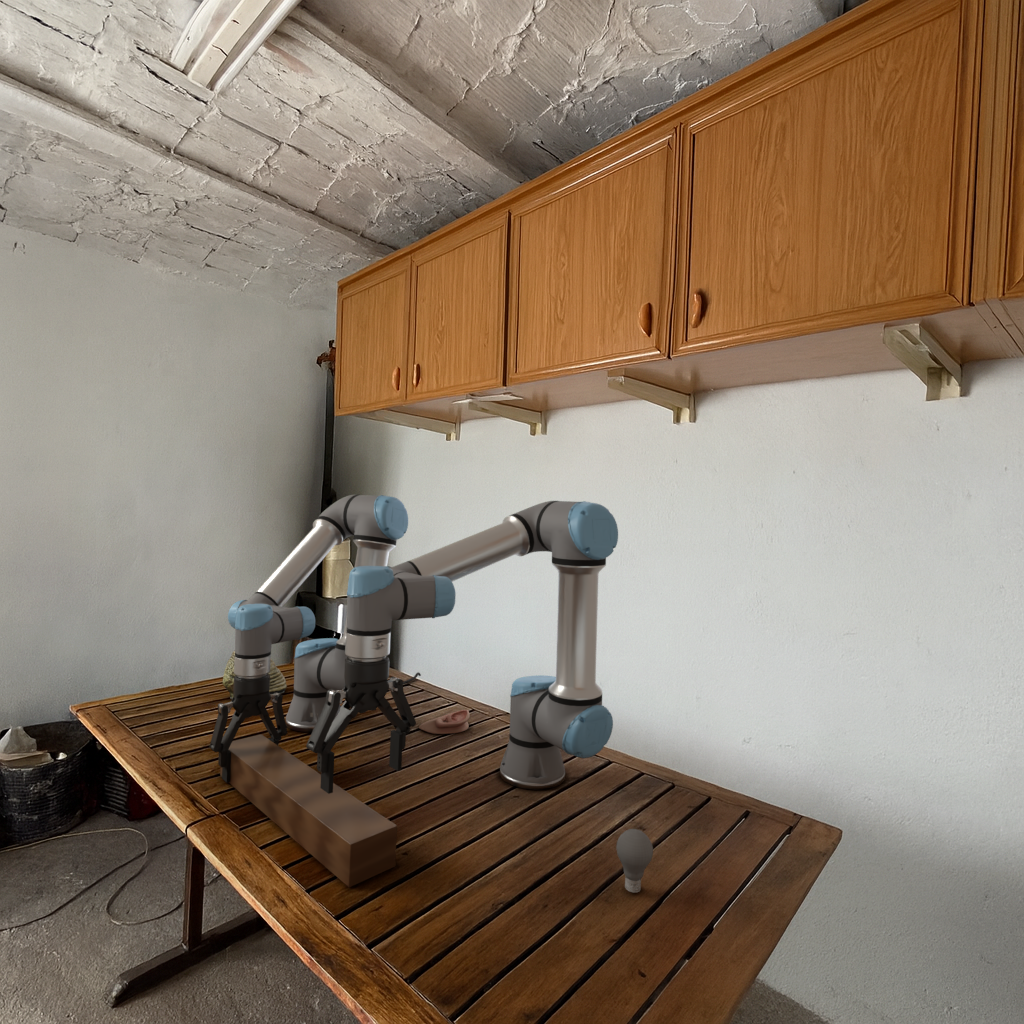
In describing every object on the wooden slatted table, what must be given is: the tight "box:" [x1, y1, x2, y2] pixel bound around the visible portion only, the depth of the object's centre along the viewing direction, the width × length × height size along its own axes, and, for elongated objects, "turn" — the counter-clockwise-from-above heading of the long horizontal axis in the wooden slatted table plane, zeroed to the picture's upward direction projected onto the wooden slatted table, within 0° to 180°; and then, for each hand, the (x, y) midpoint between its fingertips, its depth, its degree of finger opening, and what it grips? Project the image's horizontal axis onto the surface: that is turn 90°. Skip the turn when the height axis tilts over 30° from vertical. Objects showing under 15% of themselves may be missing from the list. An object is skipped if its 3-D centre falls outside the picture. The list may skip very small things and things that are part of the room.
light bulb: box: [615, 828, 654, 894], centre depth 106 cm, size 6×6×10 cm
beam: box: [219, 734, 398, 888], centre depth 126 cm, size 55×9×7 cm, turn 45°
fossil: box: [222, 650, 288, 699], centre depth 198 cm, size 9×18×15 cm, turn 132°
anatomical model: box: [418, 709, 471, 735], centre depth 177 cm, size 13×4×12 cm
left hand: (248, 773), depth 142 cm, fingers closed on beam, 9 cm apart
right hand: (362, 779), depth 109 cm, fingers open, 13 cm apart
